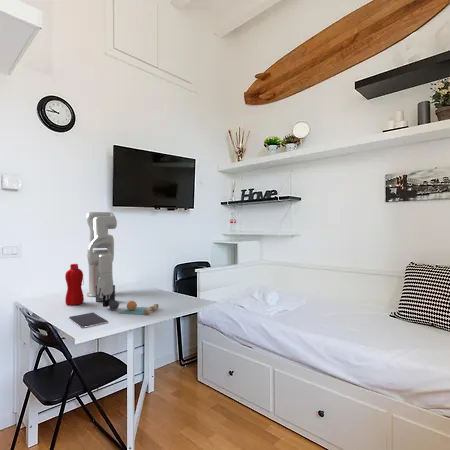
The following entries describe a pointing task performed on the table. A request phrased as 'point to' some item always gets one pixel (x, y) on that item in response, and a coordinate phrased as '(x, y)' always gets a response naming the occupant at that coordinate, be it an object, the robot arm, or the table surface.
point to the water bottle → (74, 285)
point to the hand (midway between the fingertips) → (106, 306)
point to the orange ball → (131, 305)
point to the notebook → (87, 319)
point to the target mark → (135, 311)
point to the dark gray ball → (113, 304)
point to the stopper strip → (151, 309)
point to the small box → (112, 296)
